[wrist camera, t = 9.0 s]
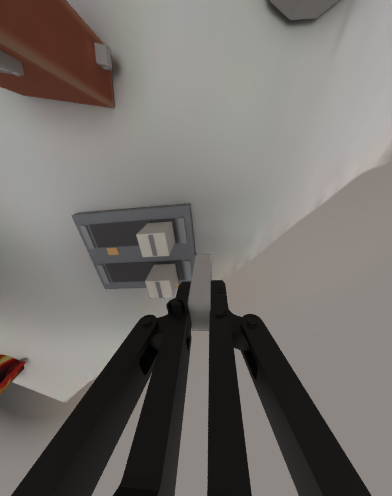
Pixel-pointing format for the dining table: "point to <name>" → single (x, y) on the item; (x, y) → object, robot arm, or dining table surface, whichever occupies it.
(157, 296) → the tab back
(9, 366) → the mug
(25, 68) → the orange rectangular box
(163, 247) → the tab front
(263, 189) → the dining table surface
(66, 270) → the dining table surface
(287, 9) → the jar
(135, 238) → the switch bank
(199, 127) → the dining table surface
